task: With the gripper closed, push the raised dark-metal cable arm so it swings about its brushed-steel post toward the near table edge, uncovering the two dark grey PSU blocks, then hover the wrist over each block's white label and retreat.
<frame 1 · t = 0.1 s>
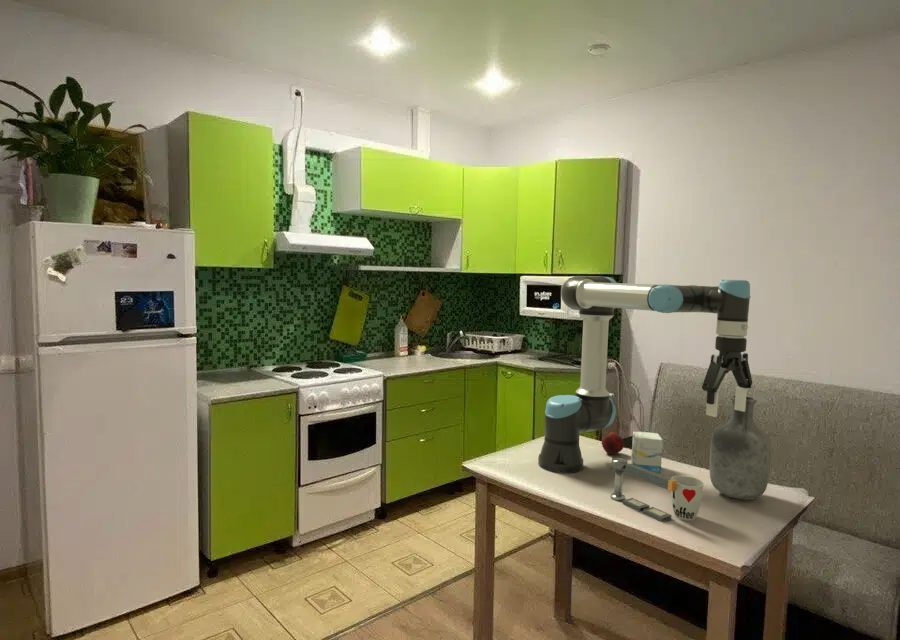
hand: (725, 413, 151), 28 cm above the table, fingers open, 13 cm apart
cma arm: (642, 473, 153), point 10 cm above the table, hinge at 0.0°
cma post: (617, 498, 160), on the table
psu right: (657, 516, 149), on the table
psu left: (635, 506, 155), on the table
vase: (736, 496, 165), on the table
apple: (612, 454, 201), on the table
cup: (684, 517, 149), on the table
ink box: (645, 469, 187), on the table
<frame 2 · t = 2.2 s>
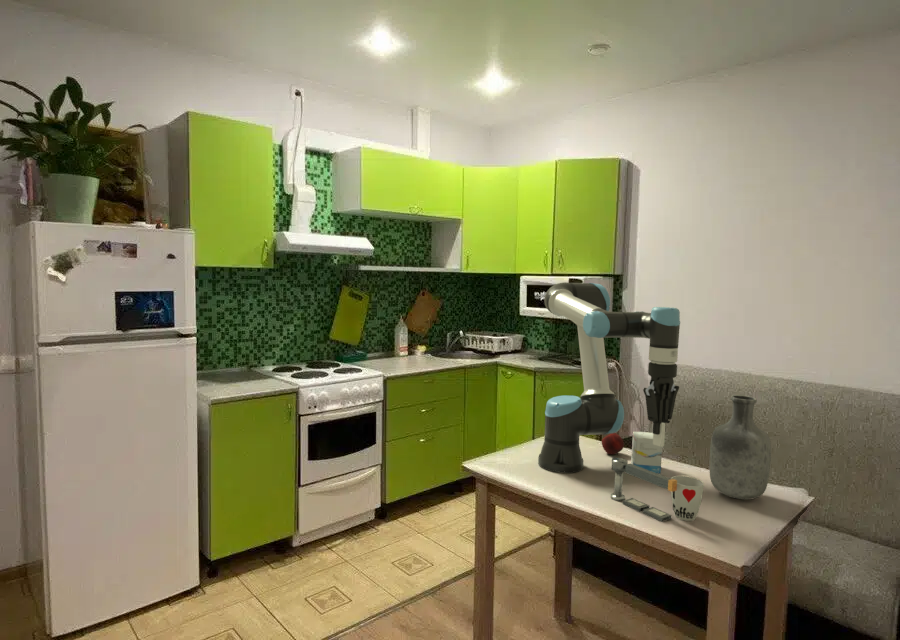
hand: (658, 445, 155), 17 cm above the table, fingers closed
nothing on the table moved.
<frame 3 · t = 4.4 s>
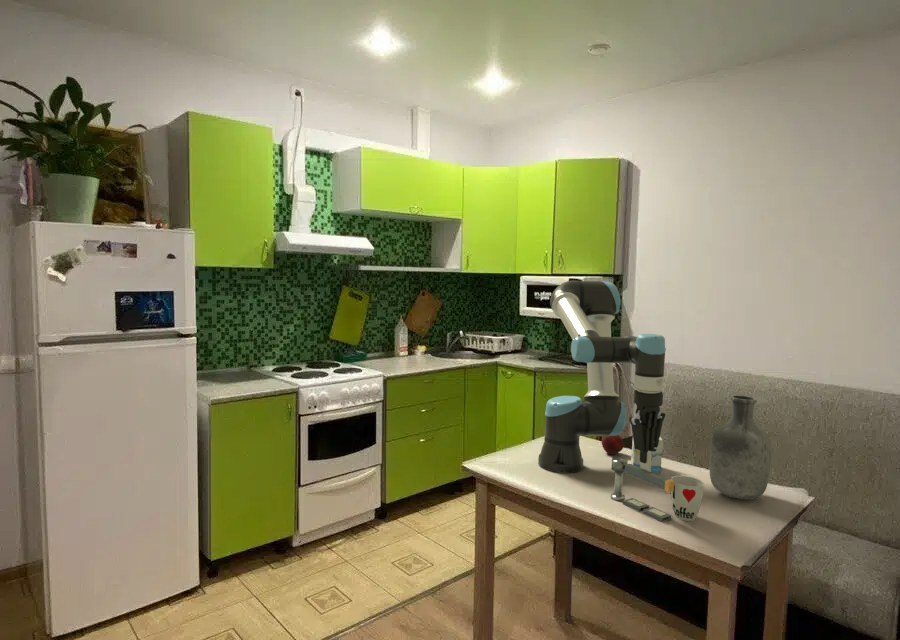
hand: (645, 473, 153), 10 cm above the table, fingers closed
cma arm: (640, 474, 152), point 10 cm above the table, hinge at 4.1°, touching gripper
everything else where it was.
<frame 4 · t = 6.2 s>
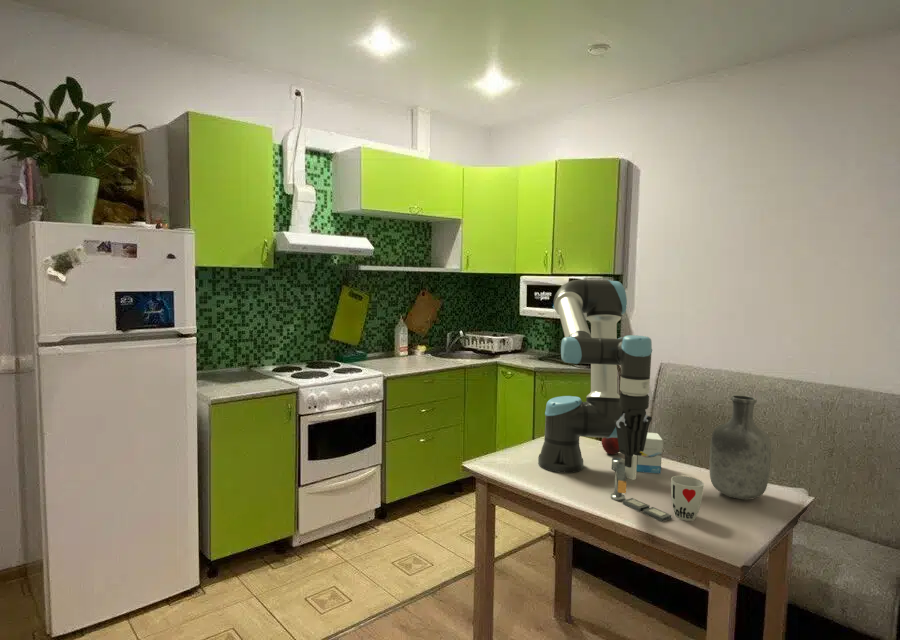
hand: (630, 477, 150), 10 cm above the table, fingers closed
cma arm: (620, 474, 152), point 10 cm above the table, hinge at 47.4°, touching gripper
everything else where it was.
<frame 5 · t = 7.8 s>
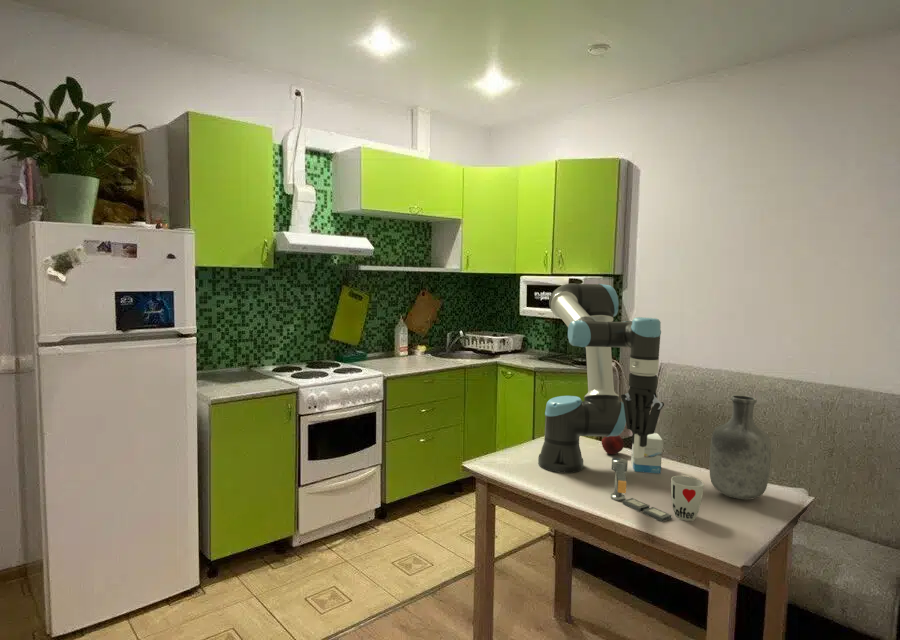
hand: (638, 456, 153), 14 cm above the table, fingers closed
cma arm: (620, 474, 152), point 10 cm above the table, hinge at 47.5°
everything else where it was.
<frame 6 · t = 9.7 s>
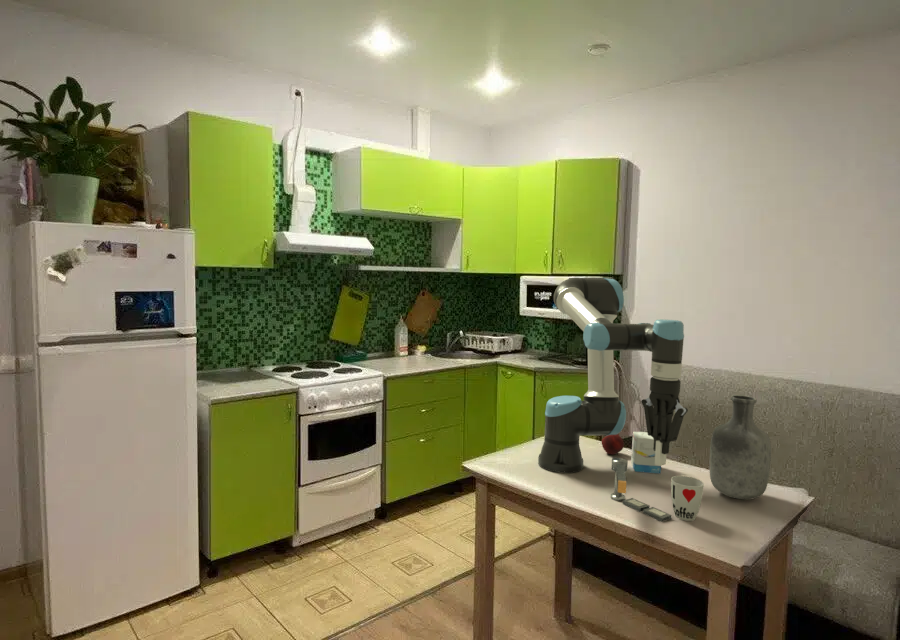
hand: (660, 464, 148), 14 cm above the table, fingers closed
nothing on the table moved.
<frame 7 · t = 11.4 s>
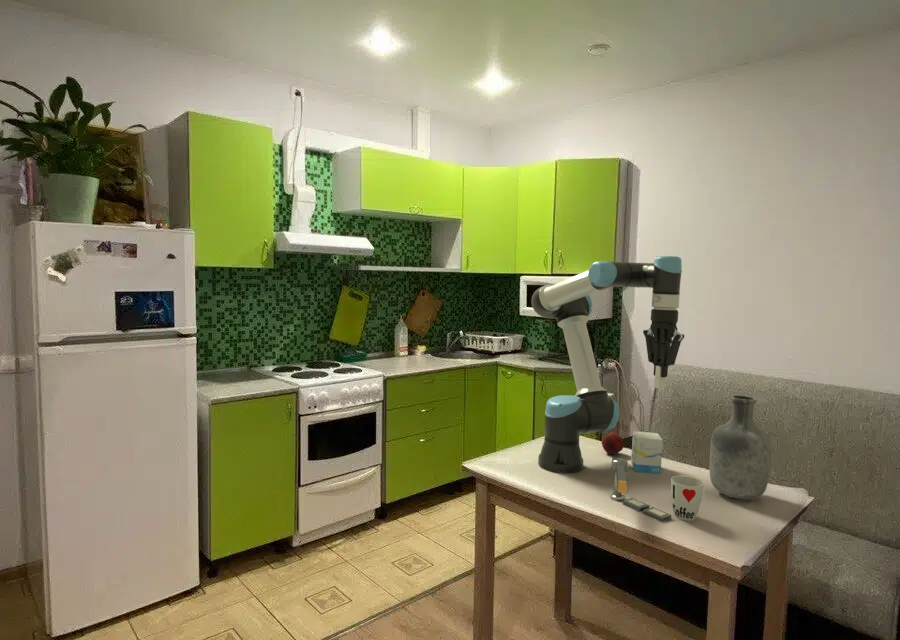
hand: (659, 387, 164), 32 cm above the table, fingers closed
nothing on the table moved.
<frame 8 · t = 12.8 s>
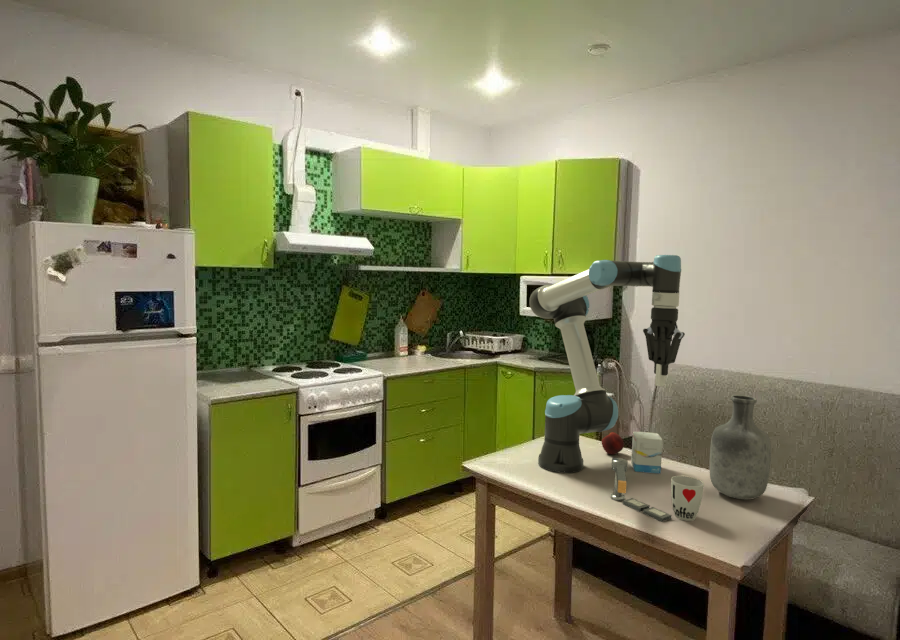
hand: (660, 385, 165), 32 cm above the table, fingers closed
nothing on the table moved.
at the end: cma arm at +48° (first picture: +0°); cup moved 0.2 cm from its start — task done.
